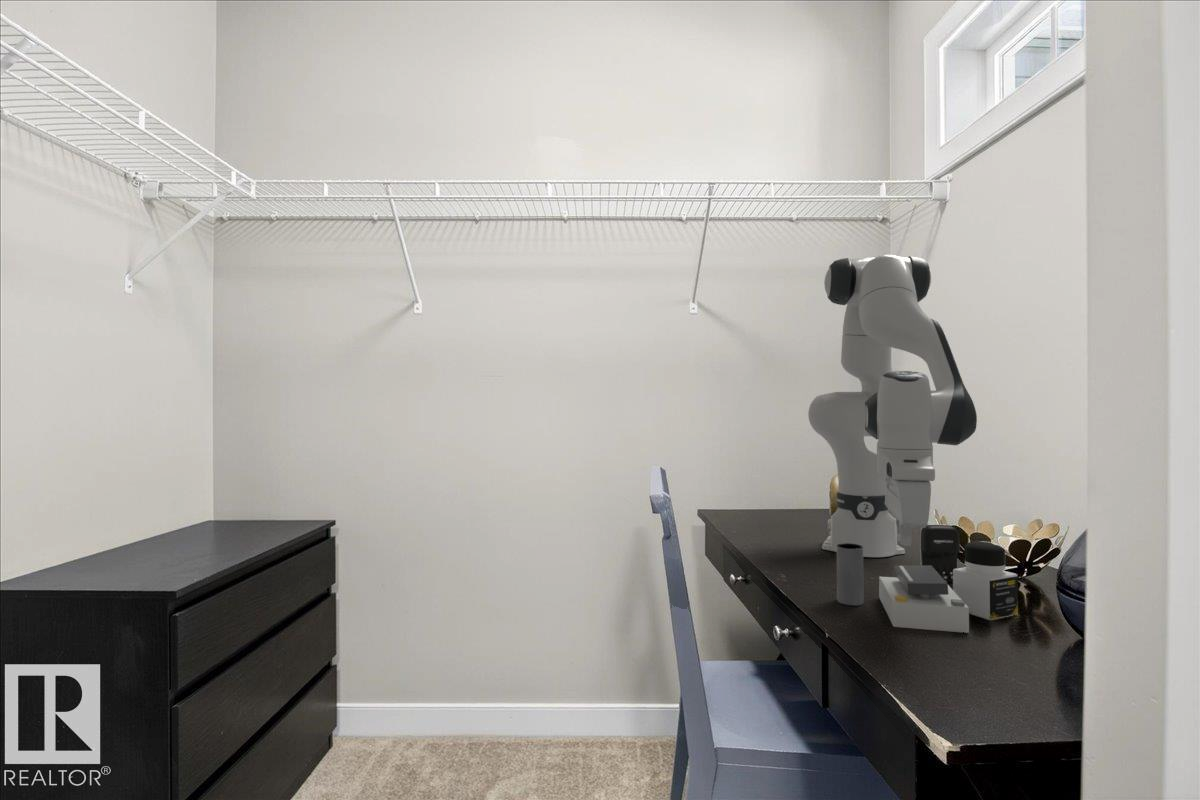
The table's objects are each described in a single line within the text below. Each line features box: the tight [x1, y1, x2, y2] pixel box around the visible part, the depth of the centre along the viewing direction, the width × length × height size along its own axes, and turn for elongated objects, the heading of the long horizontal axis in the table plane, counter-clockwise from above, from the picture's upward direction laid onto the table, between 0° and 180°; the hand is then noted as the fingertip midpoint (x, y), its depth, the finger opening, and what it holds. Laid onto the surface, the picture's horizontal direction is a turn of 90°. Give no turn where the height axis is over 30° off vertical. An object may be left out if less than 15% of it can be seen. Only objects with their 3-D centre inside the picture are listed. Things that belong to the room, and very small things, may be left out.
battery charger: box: [919, 523, 961, 583], centre depth 132 cm, size 7×4×11 cm, turn 81°
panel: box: [878, 575, 970, 634], centre depth 112 cm, size 16×11×5 cm
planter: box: [836, 543, 864, 607], centre depth 118 cm, size 4×4×10 cm
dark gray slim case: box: [894, 564, 949, 595], centre depth 112 cm, size 12×6×2 cm, turn 164°
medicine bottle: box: [952, 540, 1019, 621], centre depth 113 cm, size 7×7×12 cm
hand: (904, 543), depth 113 cm, fingers closed
